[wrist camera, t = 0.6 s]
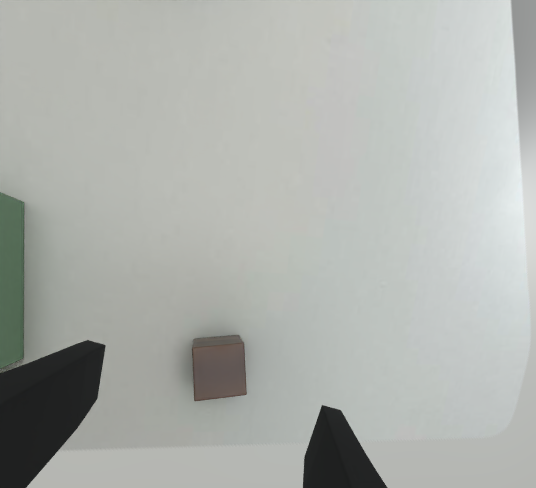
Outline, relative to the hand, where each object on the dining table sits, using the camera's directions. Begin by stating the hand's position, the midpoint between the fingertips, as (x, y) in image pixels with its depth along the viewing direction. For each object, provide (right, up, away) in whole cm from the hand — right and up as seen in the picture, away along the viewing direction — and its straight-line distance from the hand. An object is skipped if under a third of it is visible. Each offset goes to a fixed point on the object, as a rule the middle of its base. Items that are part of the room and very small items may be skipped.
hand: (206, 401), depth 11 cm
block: (-3, -5, +19) cm, 20 cm away
